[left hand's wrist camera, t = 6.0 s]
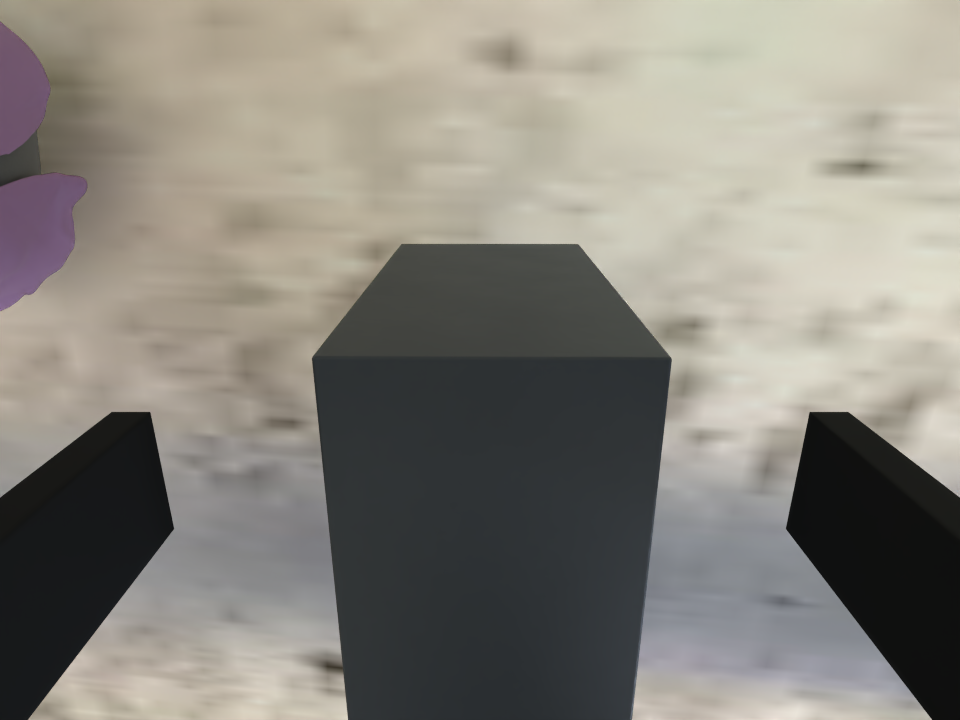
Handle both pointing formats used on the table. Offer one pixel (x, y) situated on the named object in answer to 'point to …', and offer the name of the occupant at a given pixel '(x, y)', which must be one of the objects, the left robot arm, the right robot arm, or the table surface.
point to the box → (490, 485)
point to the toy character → (29, 179)
